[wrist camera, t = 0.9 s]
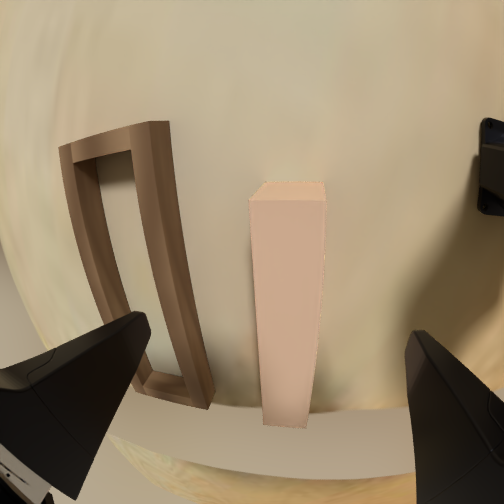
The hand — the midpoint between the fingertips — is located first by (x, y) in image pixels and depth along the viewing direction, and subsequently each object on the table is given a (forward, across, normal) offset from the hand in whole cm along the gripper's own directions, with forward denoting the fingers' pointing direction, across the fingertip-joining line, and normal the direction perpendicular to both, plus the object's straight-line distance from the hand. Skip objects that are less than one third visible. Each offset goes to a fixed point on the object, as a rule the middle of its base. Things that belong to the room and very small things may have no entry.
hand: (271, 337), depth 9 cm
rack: (+10, +12, +5) cm, 17 cm away
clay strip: (+11, 0, +6) cm, 12 cm away
